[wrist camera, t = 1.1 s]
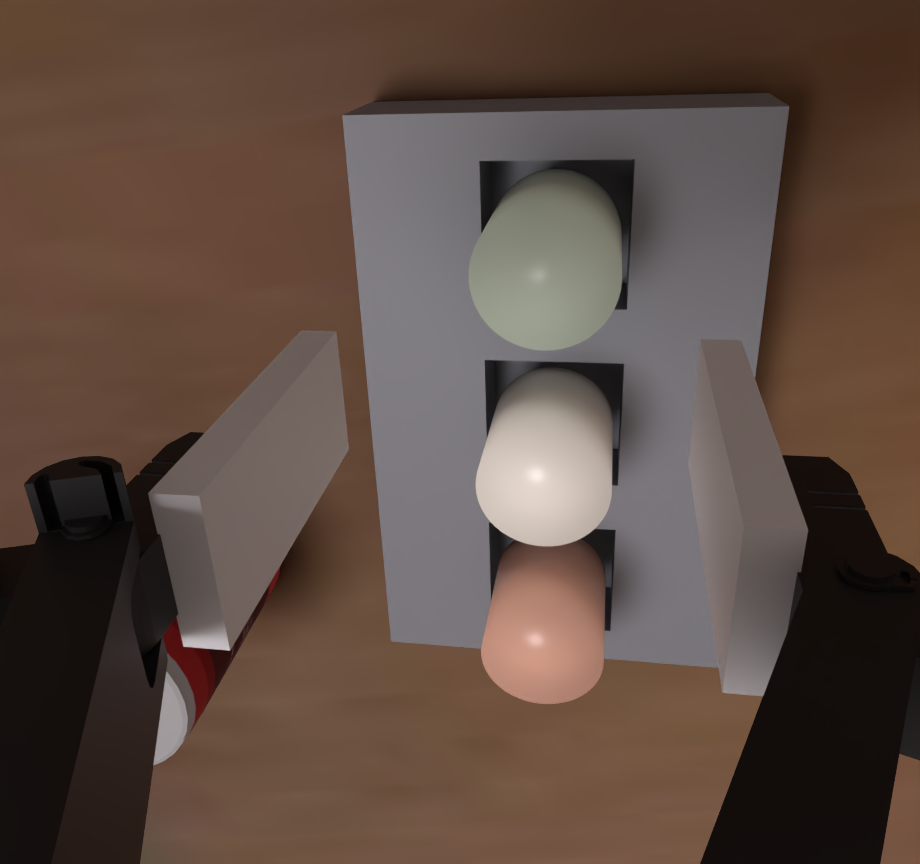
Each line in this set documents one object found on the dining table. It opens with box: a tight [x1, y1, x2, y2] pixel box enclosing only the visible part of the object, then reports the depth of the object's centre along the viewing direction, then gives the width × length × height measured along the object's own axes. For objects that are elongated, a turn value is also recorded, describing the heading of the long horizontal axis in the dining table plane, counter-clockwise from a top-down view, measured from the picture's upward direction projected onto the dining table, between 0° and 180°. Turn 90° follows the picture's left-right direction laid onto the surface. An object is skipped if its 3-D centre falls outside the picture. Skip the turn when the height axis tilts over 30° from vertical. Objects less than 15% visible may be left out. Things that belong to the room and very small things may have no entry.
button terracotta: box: [481, 539, 606, 704], centre depth 33 cm, size 4×4×5 cm
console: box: [342, 93, 789, 668], centre depth 34 cm, size 22×14×4 cm, turn 3°
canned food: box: [153, 567, 280, 765], centre depth 38 cm, size 8×8×11 cm
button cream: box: [476, 367, 613, 546], centre depth 30 cm, size 4×4×5 cm
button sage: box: [469, 169, 622, 351], centre depth 27 cm, size 4×4×5 cm
